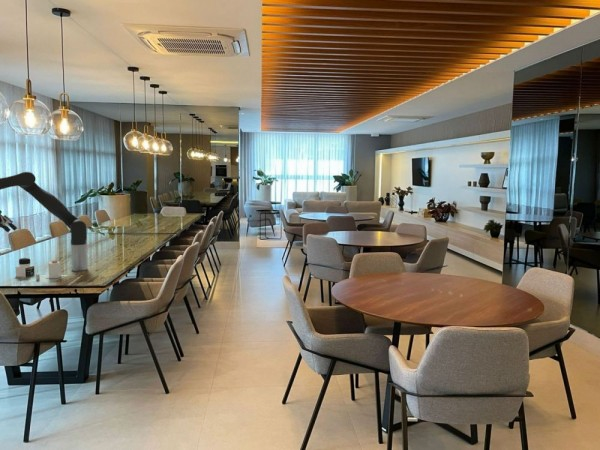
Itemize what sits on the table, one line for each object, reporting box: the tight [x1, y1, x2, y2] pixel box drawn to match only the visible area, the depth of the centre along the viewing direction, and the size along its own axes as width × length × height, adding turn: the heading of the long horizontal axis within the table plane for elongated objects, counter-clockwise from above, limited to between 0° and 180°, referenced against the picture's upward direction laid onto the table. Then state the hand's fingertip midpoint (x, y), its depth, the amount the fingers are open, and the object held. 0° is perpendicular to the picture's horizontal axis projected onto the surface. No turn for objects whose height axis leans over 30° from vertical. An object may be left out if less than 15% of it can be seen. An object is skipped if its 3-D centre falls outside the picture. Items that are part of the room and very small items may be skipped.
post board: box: [26, 273, 69, 283], centre depth 278 cm, size 19×15×5 cm
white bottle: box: [47, 259, 62, 278], centre depth 280 cm, size 5×5×10 cm
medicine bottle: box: [15, 257, 36, 278], centre depth 283 cm, size 7×7×12 cm
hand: (12, 230), depth 269 cm, fingers open, 8 cm apart
